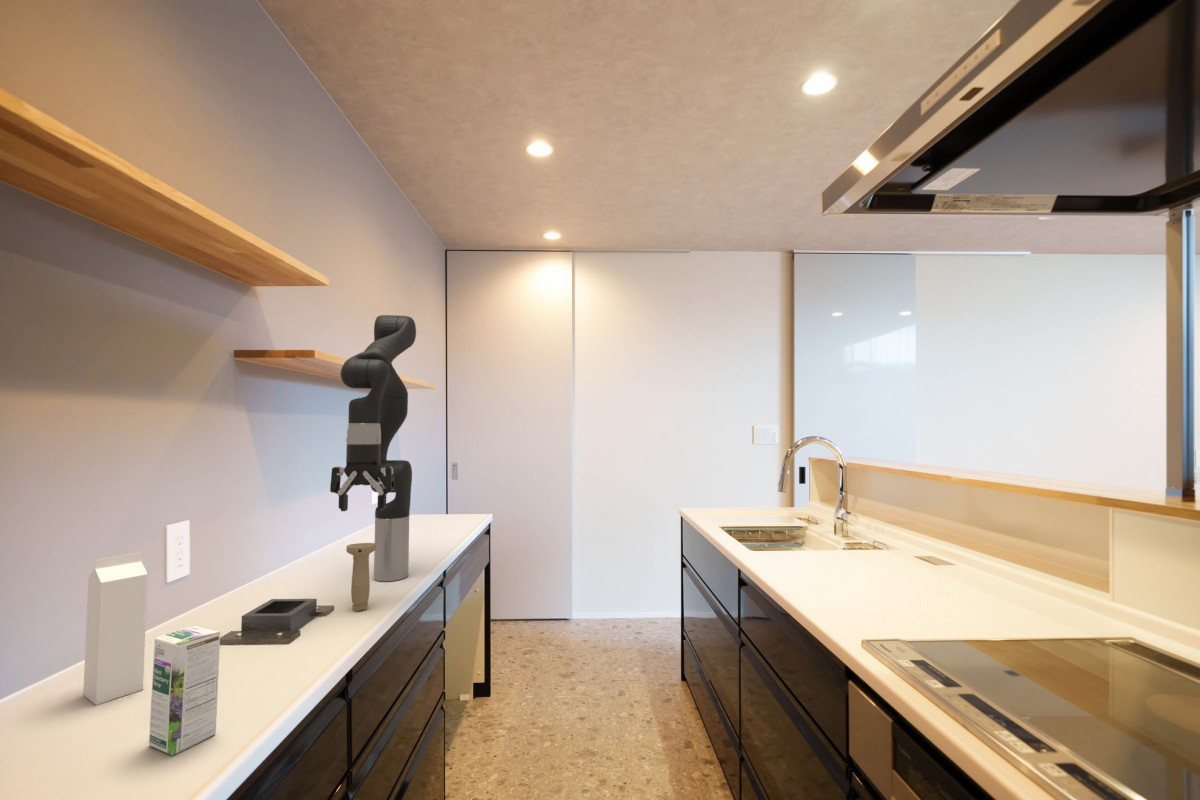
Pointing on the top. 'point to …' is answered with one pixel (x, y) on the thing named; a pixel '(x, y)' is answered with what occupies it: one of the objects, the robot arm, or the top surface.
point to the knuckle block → (276, 622)
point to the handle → (360, 574)
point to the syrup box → (184, 688)
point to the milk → (115, 628)
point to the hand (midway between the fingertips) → (362, 510)
